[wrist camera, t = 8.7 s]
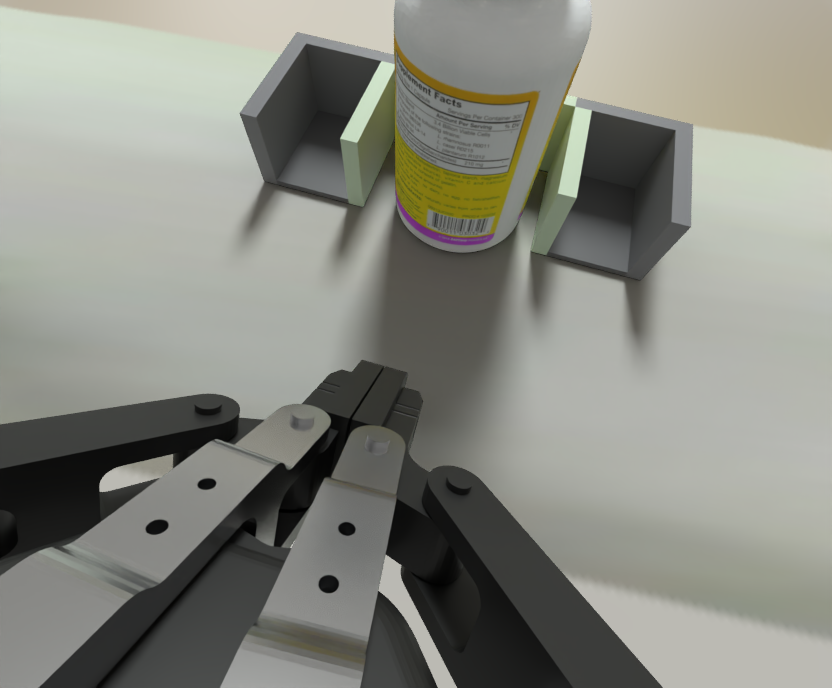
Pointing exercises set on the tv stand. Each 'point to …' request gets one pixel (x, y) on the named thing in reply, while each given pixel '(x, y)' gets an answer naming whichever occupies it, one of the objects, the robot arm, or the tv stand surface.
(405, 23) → the supplement bottle
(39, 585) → the robot arm
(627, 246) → the bay rack
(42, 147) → the tv stand surface
